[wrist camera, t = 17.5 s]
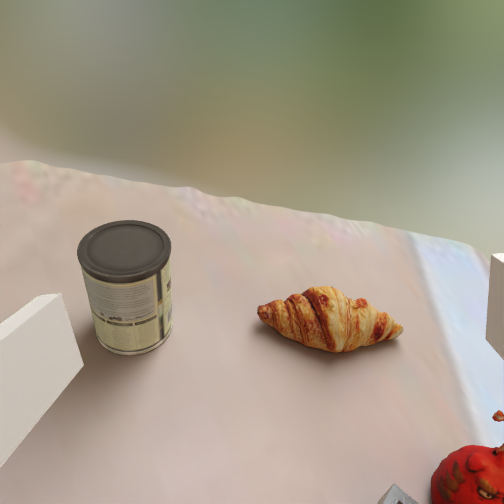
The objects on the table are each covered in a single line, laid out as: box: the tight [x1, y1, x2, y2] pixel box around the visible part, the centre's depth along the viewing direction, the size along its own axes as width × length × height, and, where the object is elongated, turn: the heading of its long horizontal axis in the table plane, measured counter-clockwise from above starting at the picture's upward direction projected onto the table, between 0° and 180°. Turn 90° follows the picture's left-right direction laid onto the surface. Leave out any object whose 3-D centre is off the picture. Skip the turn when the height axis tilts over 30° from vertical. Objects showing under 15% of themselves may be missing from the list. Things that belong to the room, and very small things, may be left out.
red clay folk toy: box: [431, 410, 504, 504], centre depth 36 cm, size 8×7×15 cm
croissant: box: [257, 286, 403, 352], centre depth 56 cm, size 21×10×8 cm
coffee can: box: [77, 220, 173, 355], centre depth 49 cm, size 10×10×14 cm
